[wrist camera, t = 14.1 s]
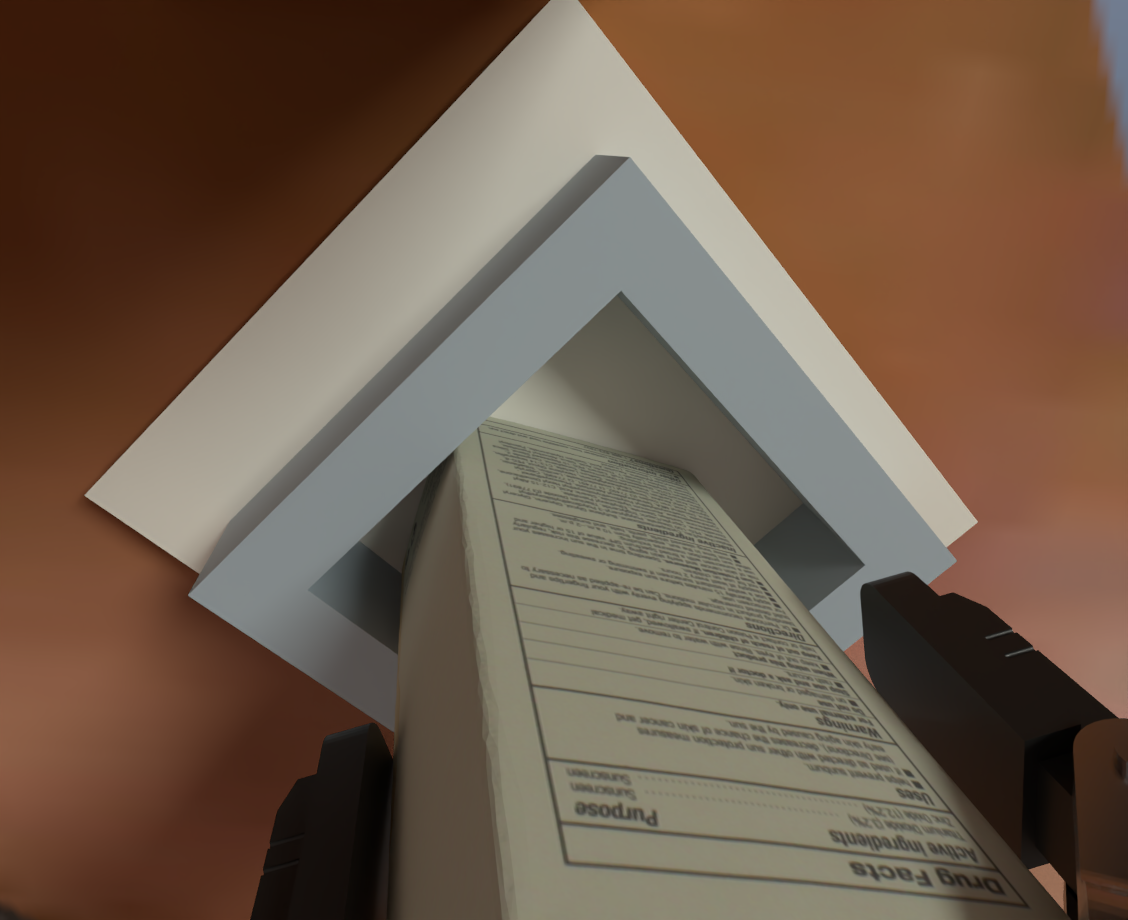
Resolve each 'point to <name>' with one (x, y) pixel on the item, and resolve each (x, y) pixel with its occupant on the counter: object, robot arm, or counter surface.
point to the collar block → (523, 372)
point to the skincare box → (648, 718)
